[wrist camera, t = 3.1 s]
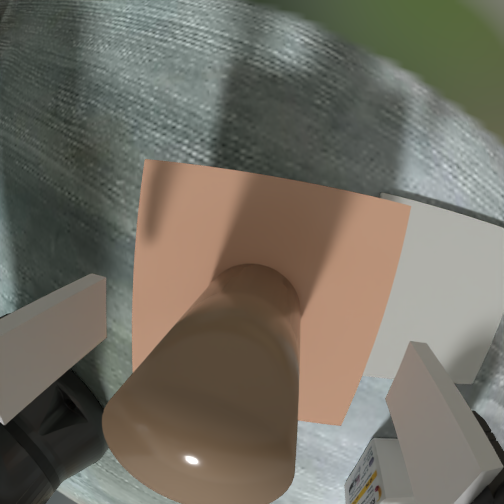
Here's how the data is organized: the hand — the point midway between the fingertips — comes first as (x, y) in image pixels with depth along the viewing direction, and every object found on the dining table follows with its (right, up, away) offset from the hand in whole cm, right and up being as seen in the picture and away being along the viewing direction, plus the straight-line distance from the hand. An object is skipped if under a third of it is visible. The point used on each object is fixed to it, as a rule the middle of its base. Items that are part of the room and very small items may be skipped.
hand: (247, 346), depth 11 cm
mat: (+14, 0, +9) cm, 16 cm away
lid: (0, +1, +4) cm, 4 cm away
